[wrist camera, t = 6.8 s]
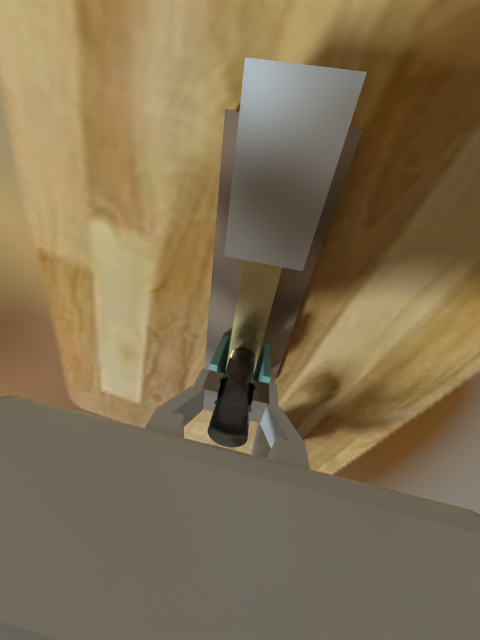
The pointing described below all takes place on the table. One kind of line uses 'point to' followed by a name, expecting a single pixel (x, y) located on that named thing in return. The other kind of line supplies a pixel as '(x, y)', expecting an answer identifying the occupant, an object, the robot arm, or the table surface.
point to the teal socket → (262, 366)
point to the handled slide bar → (244, 353)
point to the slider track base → (280, 186)
